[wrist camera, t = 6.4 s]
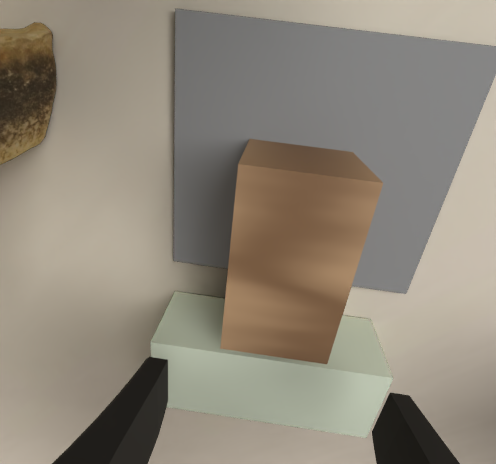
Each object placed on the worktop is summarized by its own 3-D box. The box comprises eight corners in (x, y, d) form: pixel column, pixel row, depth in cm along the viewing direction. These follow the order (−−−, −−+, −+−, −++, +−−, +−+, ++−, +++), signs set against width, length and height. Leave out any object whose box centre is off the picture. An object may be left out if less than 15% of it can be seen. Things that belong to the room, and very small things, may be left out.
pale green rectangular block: (370, 319, 16) (393, 378, 13) (350, 374, 18) (366, 438, 15) (174, 291, 16) (150, 342, 13) (174, 348, 18) (152, 405, 15)
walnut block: (315, 297, 15) (352, 151, 12) (327, 364, 12) (383, 183, 9) (233, 285, 16) (249, 138, 12) (220, 348, 12) (238, 163, 9)
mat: (501, 48, 11) (506, 47, 10) (403, 289, 15) (406, 293, 15) (177, 10, 11) (175, 8, 11) (175, 257, 15) (173, 261, 15)
